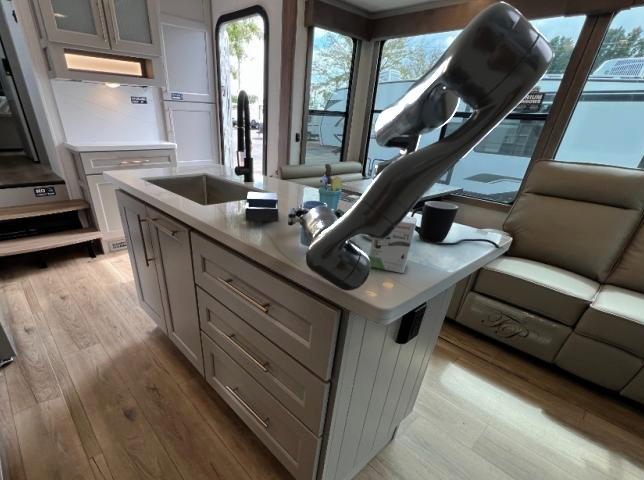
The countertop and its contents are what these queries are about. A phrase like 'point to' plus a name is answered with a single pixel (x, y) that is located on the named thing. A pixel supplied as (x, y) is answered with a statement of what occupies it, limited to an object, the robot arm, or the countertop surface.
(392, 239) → the ink box
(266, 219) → the storage box
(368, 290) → the countertop surface
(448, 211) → the mug
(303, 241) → the light blue hollow cylinder
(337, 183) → the cup
